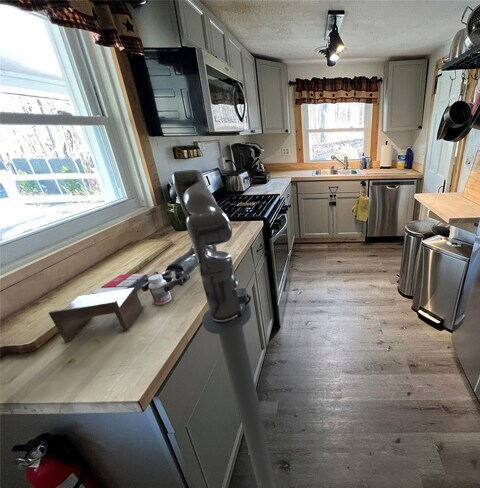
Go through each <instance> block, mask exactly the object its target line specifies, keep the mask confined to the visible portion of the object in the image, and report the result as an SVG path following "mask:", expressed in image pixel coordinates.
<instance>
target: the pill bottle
mask: <svg viewBox="0 0 480 488" xmlns="http://www.w3.org/2000/svg"><path fill="white" fill-rule="evenodd" d="M149 276H150V275H149ZM148 280H149V282H150V284H149V291H150V295H151V297H152V300H153V303H154V304H155V305H157V306H161V305H164V304H166V303H167V304H168V303H169V302H170V301H171V300H172V295H171V290H170V291H168V292H165V290H164V286H165V285H167V284H168V282H166V281H165V280H164V279H163V277H162V275H161V274H156V275H152V276H150V277H149V278H148Z"/></svg>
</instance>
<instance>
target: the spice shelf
mask: <svg viewBox="0 0 480 488" xmlns="http://www.w3.org/2000/svg"><path fill="white" fill-rule="evenodd" d="M142 308H143V305H142V303H141V301H140V298H139V295H138V293H137V290H135V288H129V289H122V290H116V291H110V292H103V293H97V294H92V293H91V294H90V293H89V294H84V295H78V296H76V298H74V299H73V300H72V301H71V302H70V303H69V304H68V305H67V306H66V307H64V308H63V309H57V310H51V311H49V312H48V316H49V317H50V319H51V321H52V322H53V324H54V326H55V328H56V329H57V331H58V333H59V335H60V336H61V338H62V340H63V342H64V343H68V342H70V341H71V340H72V339H73V338H74V337H75V336H76V335H77V334H78V332H80V330H81V329H82V328H83V327H84V326H85V325H86V323H87V322H88V321H89V320H90V319H91V318H94V317H100V316H105V315H112V314H115V316H116V318H117V321H118V323H119V325H120V328H121V329H122V332H127V331H129V329H130V328H131V326H132V324H133V323H134V321H135V319H136V318H137V316H138V315H139V313H140V312H141V310H142Z"/></svg>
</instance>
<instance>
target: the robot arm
mask: <svg viewBox="0 0 480 488" xmlns="http://www.w3.org/2000/svg"><path fill="white" fill-rule="evenodd" d="M171 178H172V184H173V188H174V191H175V193H176V196H177V198H178V201H179V204H180V206H181V210H182V211H183V213H184V216H185V219H186V221H185V224H186V225H185V226H186V230H187V233H188V236H189V240H190V241H191V242H190V243H191V246H190V248H189V249H188V250H187V251H186V252H185V253H184V254H182V255H180V256H178V257H177V258H175V260H173V261H172V262H170V263H169V264H168V265H167V266H166V269H165V270H164V271H162V272H159V271H157V270H156V271H154V272H153V273H151V274H149V275H147V276H148V277H147V278H145V281H146V283H145V284H144V285H143V286H142V287H141V289H142V292H147V291H150V289H149V284H150V282H149V280H148V278H149V277H150V276H152V275H156V274H161V275H162V277H163V279H164V280H165V281H166V282H167V285H165V286H164V290H165V292H168V291H170V292H171V291H172V290H173V289H174V288H175V287H178V286H180V287H182V286H184V285H185V284H186V283H187V282H188V281H189V280H190V279H191V278H192V277H191V273H192V272H193V271H194V270H195V269H196V268H197V267H198V270H199V276H200V279H201V283H202V286H203V290H204V293H205V298H206V301H207V306H208V310H209V309H210V314H211V318H212V320H213V321H214V322H217V323H226V322H230V321H232V320H234V319H236V318H237V317H241V316H242V304H243V303H245V304H244V305H245V306H246V305H247V304H249V303H250V302H251V301H252V297H251V296H250V295H249V293H248V289H247V287H242V288H241V287H240V286H239V283H238V281H237V279H236V274H235V268H234V264H233V258H232V256H231V254H230V253H229V252H226V251H222V250H217V245H221V244H224V243H225V244H226V243H228V242H229V241H230V240H231V238H232V236H233V228H232V224H231V221H230V220H229V217H228V216H227V214H226V212H224V210H223V209H222V208H221V207H220V206H219V205H218V203H217V201H216V198H215V197H214V194H212V192H211V190H210V189H209V188H208V185H207V182H206V180H205V177H204V175H203V174H202V172H201V171H200V170H198V169H186V170H177V171H173V172H172V175H171ZM239 287H240V288H239Z"/></svg>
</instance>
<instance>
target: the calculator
mask: <svg viewBox="0 0 480 488" xmlns="http://www.w3.org/2000/svg"><path fill="white" fill-rule="evenodd" d="M148 276H149V275H148V274H146V273H133V274H131V273H128V274H127V273H126V274H119V275H118V276H116V277H114V278H113V279H111V280H109V281H108V282H106V283H105V284H104V285H102V286H101V287H100V288H98V289H96V290H94V291H93V292H91V294H97V293H103V292H110V291H116V290H122V289H129V288H135V290H136V291H138V290H139V289H140V288H142V286H143V285H144V284H145V283H146V281H145V278H147V277H148Z"/></svg>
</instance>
